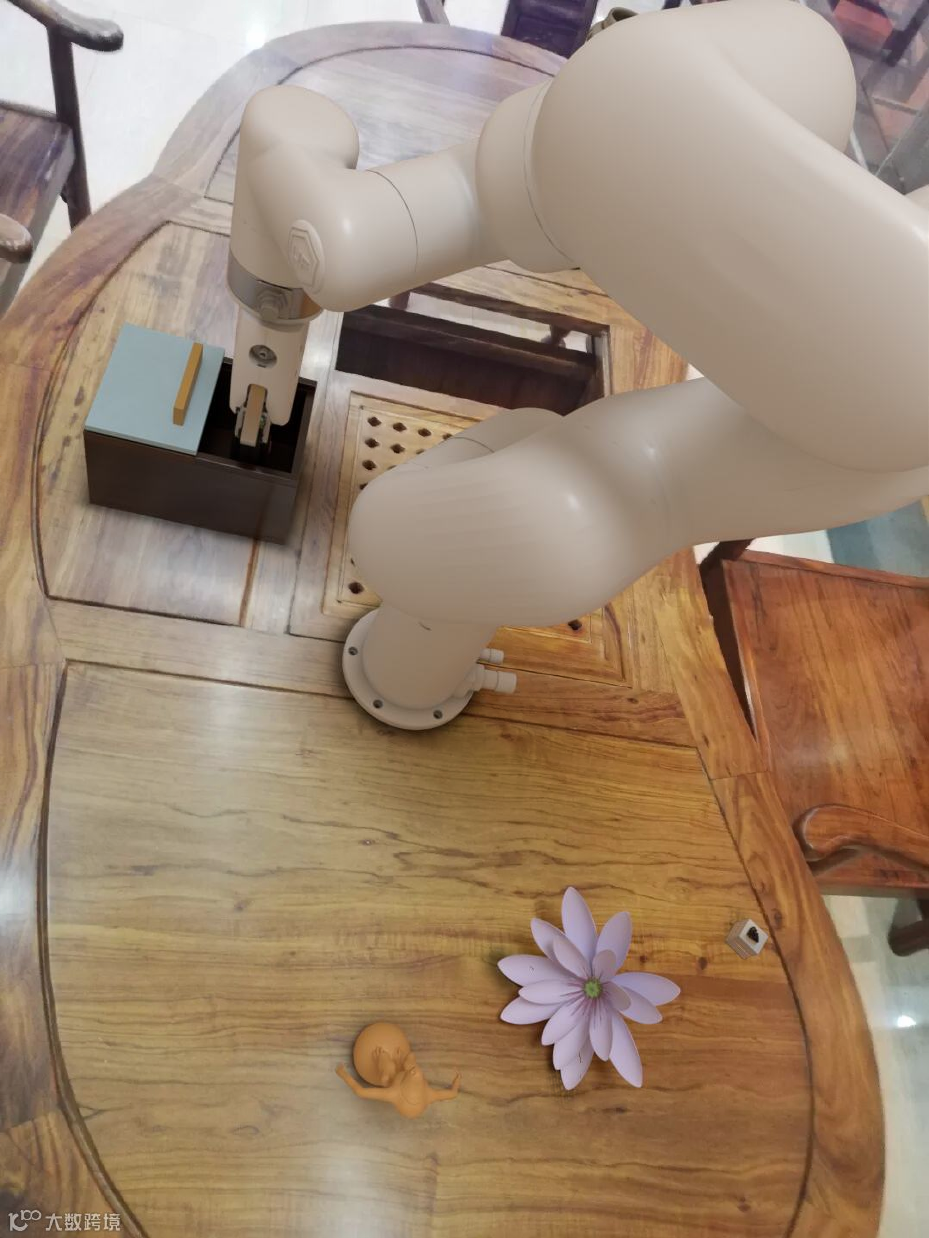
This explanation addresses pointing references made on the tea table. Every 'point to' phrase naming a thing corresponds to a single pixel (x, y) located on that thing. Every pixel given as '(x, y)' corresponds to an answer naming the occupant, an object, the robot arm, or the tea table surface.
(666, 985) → the water lily
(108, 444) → the tea box
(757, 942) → the cube with dark pebbles
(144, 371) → the light blue lid
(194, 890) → the tea table surface
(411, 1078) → the figurine
